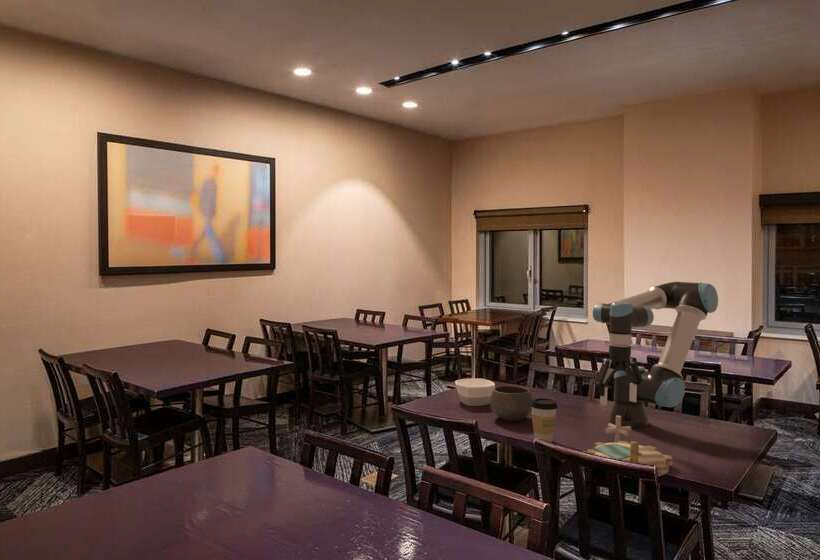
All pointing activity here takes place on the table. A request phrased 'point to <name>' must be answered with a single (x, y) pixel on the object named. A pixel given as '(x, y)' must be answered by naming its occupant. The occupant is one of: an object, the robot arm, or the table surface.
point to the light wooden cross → (618, 429)
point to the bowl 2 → (511, 402)
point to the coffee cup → (543, 417)
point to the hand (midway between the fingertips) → (618, 403)
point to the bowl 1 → (474, 391)
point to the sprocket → (633, 454)
